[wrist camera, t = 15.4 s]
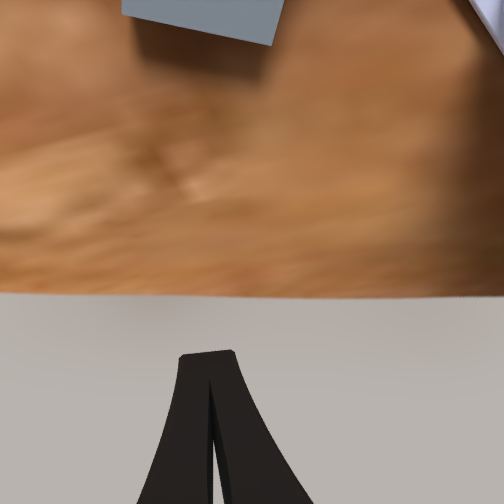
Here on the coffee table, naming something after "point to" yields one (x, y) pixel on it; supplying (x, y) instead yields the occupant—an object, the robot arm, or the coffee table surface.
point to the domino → (213, 16)
